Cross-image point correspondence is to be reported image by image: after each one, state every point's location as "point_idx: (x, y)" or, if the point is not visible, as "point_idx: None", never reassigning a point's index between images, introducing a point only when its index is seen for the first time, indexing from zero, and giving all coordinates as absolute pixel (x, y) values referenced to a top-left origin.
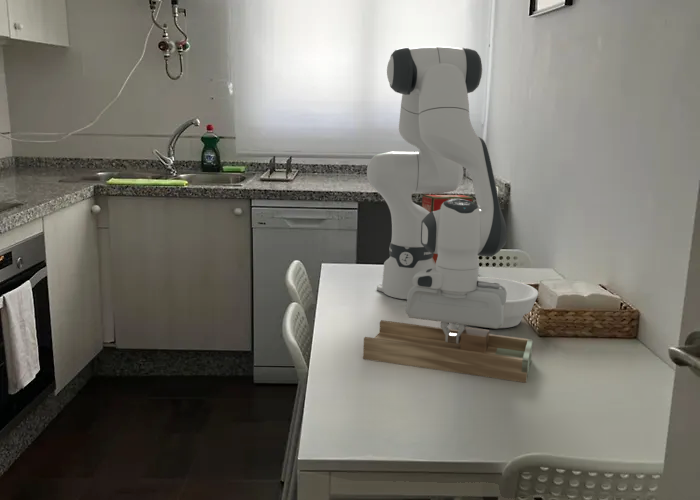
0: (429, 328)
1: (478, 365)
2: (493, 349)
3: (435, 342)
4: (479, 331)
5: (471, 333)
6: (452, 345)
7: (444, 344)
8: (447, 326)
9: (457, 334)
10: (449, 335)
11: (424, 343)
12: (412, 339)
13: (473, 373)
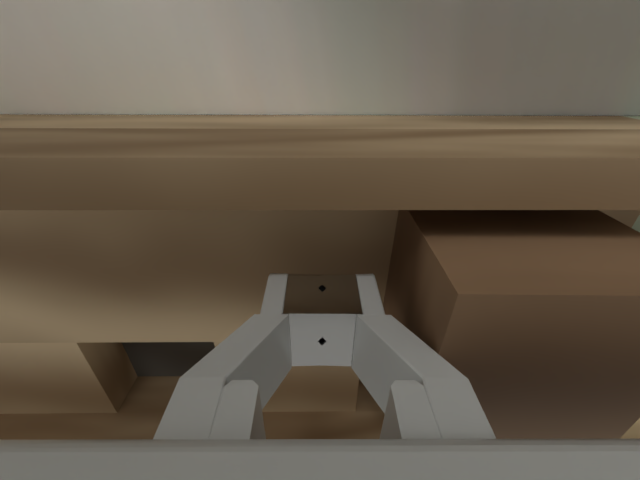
0: (27, 205)
1: None
2: (615, 216)
3: (187, 231)
4: (599, 369)
5: (500, 425)
6: (316, 242)
7: (259, 246)
8: (246, 358)
9: (367, 382)
10: (299, 363)
11: (131, 274)
12: (11, 233)
13: None
